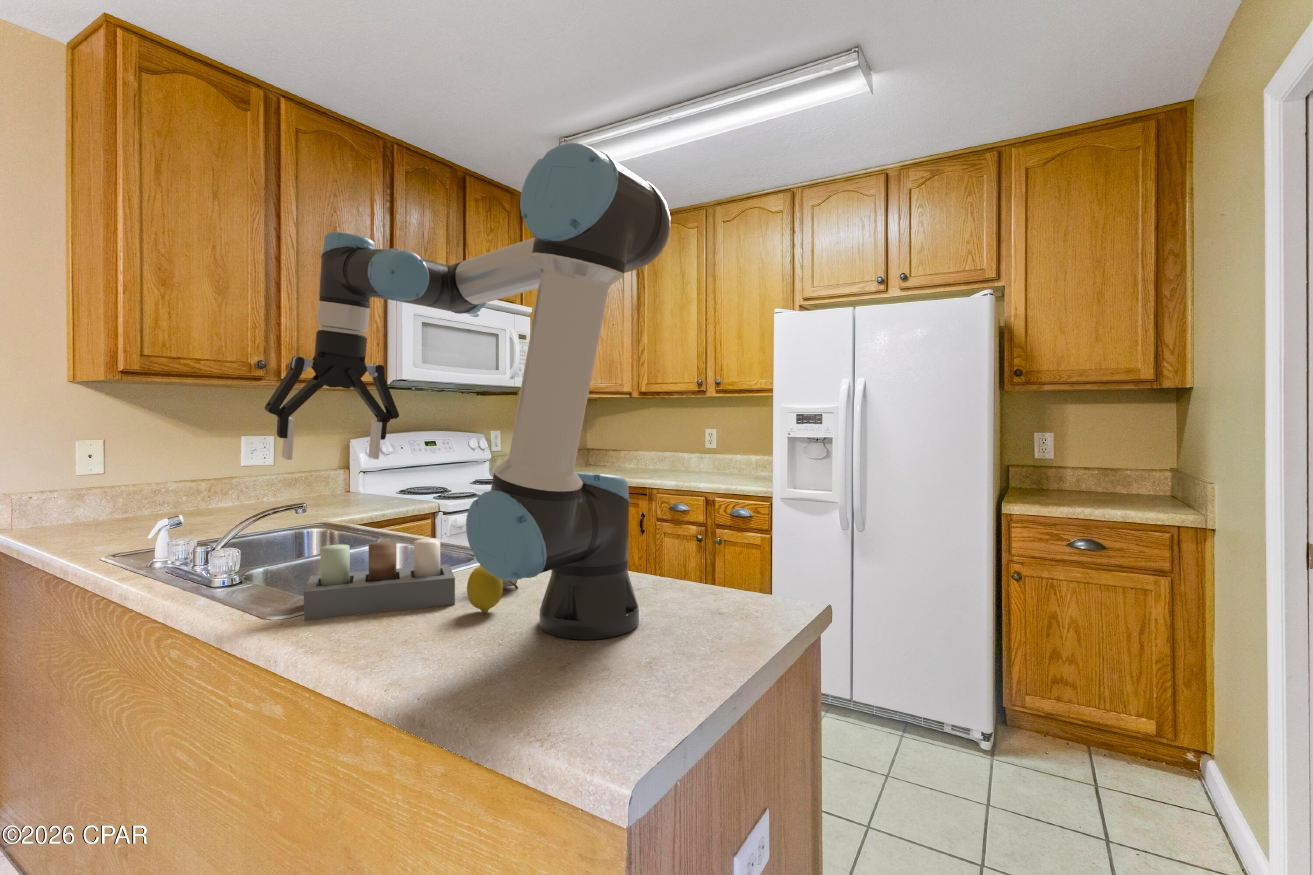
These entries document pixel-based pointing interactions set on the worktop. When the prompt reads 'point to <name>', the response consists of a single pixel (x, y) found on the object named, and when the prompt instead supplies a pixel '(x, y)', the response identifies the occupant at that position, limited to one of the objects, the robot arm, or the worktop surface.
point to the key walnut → (382, 561)
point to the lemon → (484, 589)
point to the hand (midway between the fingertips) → (332, 458)
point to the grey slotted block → (378, 594)
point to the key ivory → (426, 558)
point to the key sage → (335, 565)
